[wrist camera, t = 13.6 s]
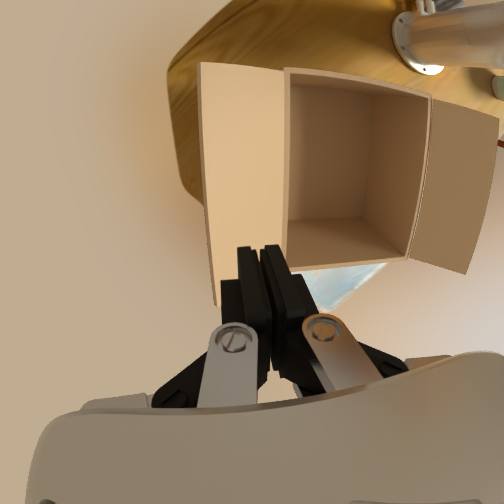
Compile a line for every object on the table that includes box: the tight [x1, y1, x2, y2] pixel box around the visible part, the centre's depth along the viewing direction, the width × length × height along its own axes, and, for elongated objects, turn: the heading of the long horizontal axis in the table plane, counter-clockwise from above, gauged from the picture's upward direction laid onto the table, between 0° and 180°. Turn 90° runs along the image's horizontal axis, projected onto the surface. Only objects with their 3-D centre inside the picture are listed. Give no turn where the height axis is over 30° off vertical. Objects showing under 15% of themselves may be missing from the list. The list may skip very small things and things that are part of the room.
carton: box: [279, 67, 432, 272], centre depth 33 cm, size 22×18×14 cm
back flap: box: [409, 99, 499, 275], centre depth 26 cm, size 21×9×1 cm
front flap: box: [197, 62, 284, 307], centre depth 24 cm, size 21×9×1 cm
